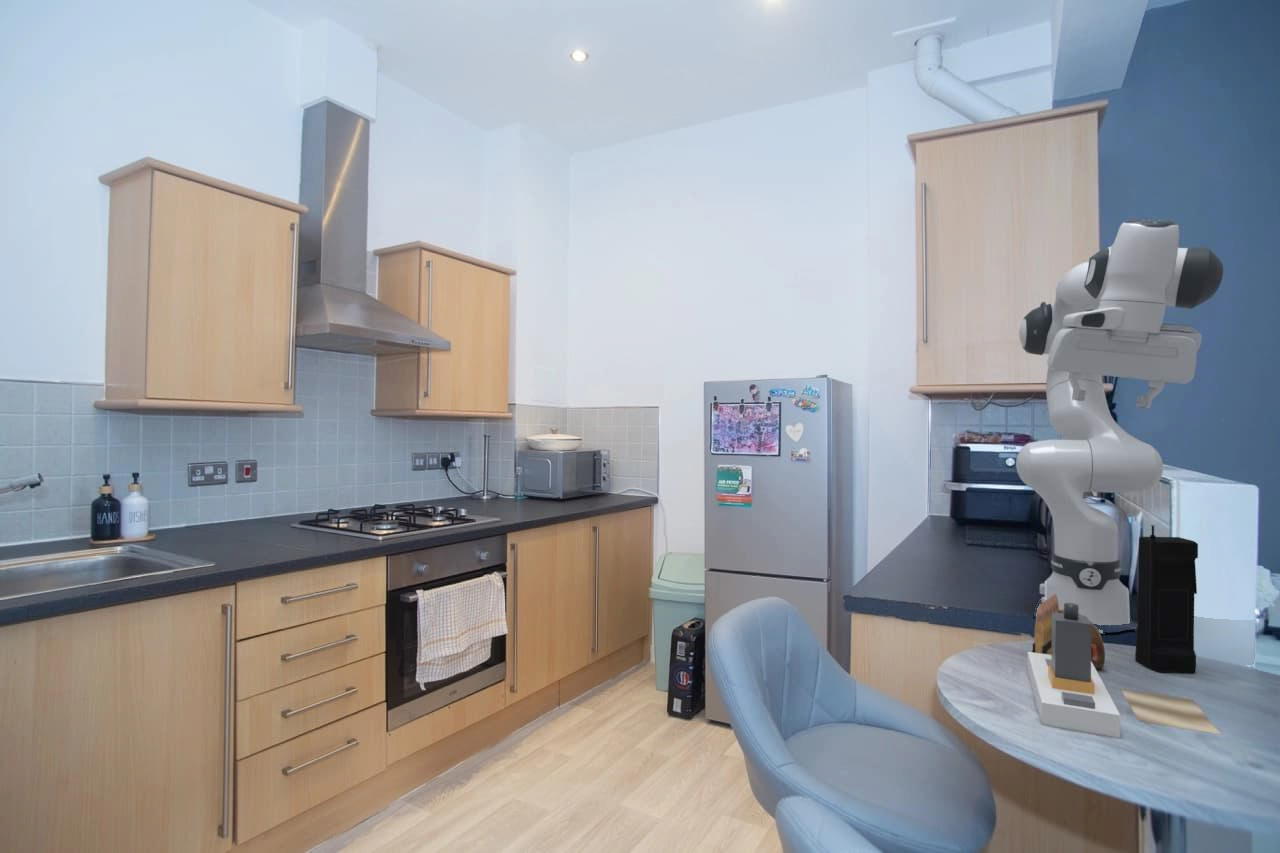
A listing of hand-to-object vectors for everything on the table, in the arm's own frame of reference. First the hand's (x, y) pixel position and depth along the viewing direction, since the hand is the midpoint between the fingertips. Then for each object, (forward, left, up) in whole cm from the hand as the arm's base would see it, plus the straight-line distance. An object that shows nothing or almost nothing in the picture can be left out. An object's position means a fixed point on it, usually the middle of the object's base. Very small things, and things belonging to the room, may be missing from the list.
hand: (1109, 404), depth 110 cm
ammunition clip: (-1, -8, -46) cm, 47 cm away
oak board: (+14, +5, -46) cm, 48 cm away
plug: (+18, -7, -45) cm, 49 cm away
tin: (-6, -3, -46) cm, 47 cm away
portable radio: (-10, +11, -46) cm, 49 cm away
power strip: (+16, -7, -46) cm, 49 cm away
